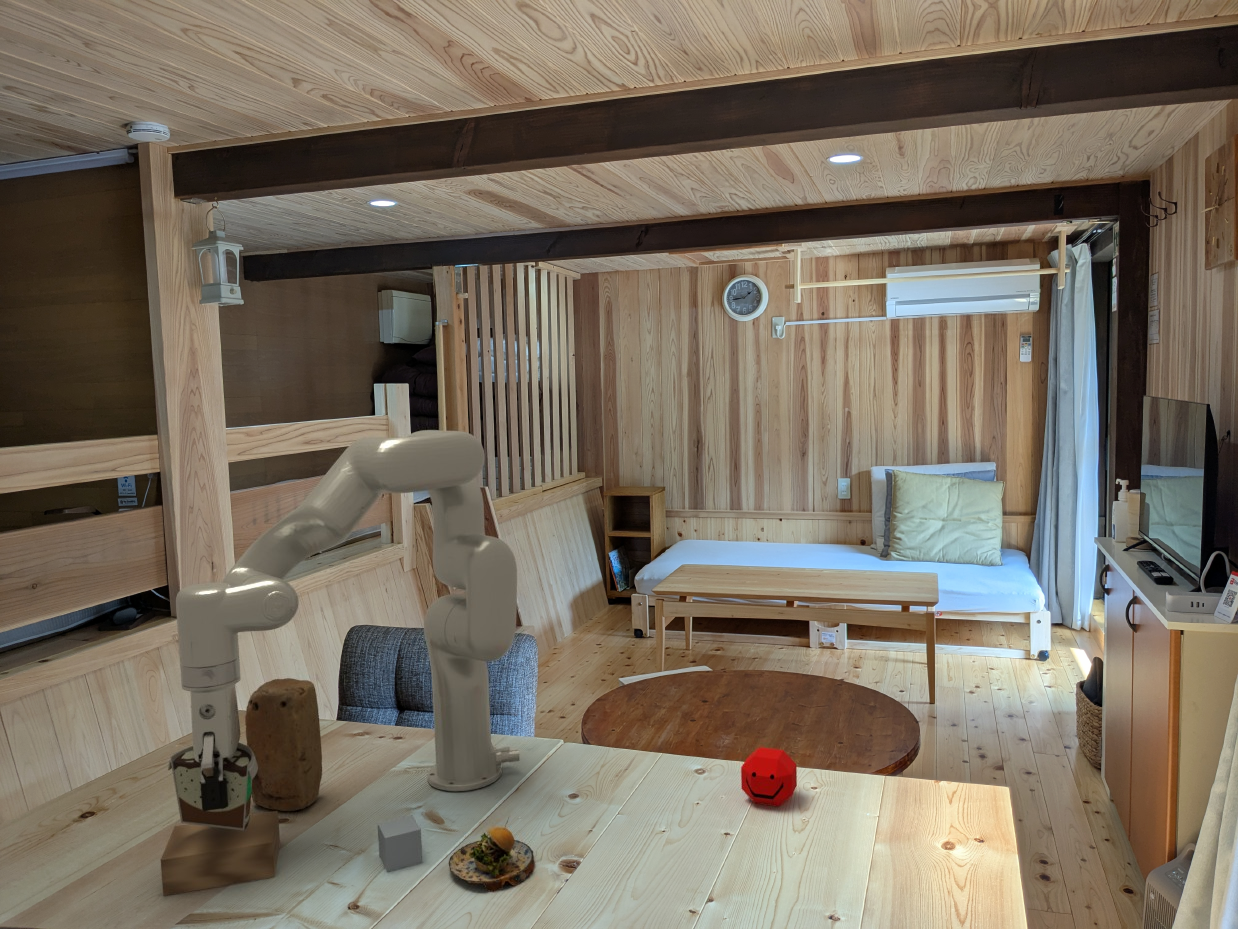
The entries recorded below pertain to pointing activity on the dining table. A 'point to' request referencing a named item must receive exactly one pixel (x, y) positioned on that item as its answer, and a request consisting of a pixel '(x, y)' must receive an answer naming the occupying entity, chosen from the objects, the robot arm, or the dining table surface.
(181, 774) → the food container
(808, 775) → the dining table surface
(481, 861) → the burger
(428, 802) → the dining table surface
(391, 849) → the slate cube
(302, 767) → the brown lumpy post
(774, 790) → the ball
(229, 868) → the plinth
